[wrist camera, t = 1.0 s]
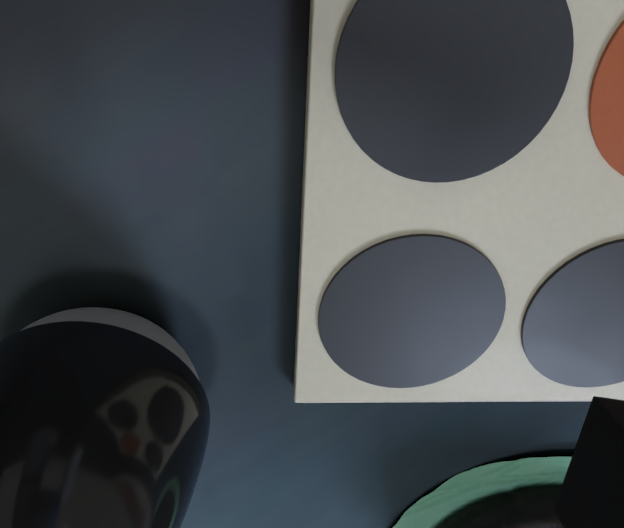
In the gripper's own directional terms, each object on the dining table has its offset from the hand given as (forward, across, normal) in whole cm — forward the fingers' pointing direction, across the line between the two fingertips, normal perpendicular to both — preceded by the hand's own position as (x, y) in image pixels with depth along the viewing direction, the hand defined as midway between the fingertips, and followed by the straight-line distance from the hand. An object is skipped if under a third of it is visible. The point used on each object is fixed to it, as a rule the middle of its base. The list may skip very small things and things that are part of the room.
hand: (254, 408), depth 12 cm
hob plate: (+15, +10, +3) cm, 19 cm away
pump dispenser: (+16, -7, -8) cm, 20 cm away
